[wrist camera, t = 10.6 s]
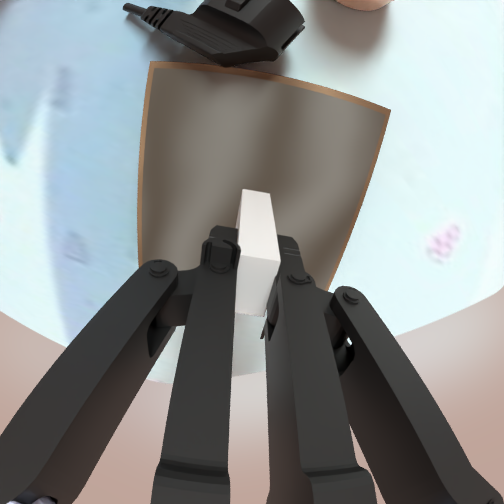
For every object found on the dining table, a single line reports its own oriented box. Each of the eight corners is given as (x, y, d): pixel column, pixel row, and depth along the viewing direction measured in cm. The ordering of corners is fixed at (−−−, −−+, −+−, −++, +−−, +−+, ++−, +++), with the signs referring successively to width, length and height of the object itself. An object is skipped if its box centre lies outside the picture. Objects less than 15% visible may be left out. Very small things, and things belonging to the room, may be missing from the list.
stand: (145, 254, 24) (137, 270, 22) (159, 63, 16) (148, 60, 14) (321, 281, 26) (326, 299, 24) (379, 107, 17) (393, 110, 15)
